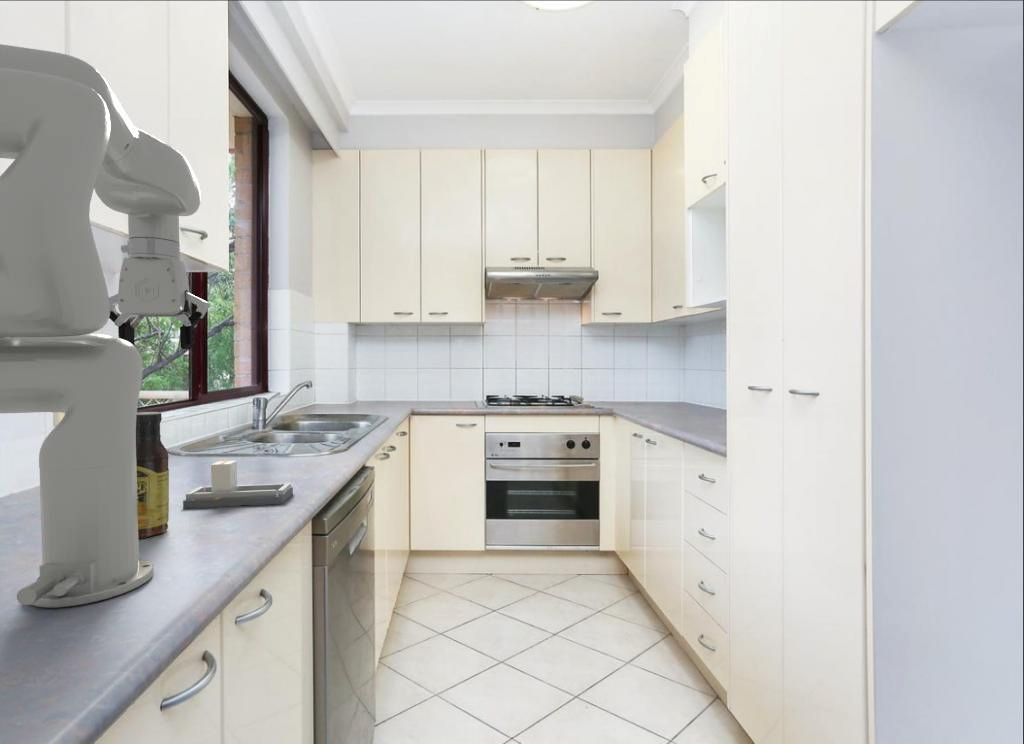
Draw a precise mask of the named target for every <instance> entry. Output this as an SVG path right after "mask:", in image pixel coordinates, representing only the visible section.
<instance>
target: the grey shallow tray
mask: <svg viewBox="0 0 1024 744" xmlns="http://www.w3.org/2000/svg"><path fill="white" fill-rule="evenodd" d="M292 495H294V487H293V486H292V483H291V482H289V483H288V482H287V483H285V484H284V483H266V484H265V483H264V484H262V483H261V484H239V485H238V484H237V491H230V492H212V486H209V485H208V486H198V487H196V488H194V489H193V490H191V491H189V492H187V493H185V499H184V500H183V501H182V508H184V509H201V508H205V507H206V508H221V507H222V508H224V506H229V507H242V506H241V505H252V506H265V505H264V504H274V505H283V504H284V503H285V502H286V501H287V500H289V498H290V497H291V496H292ZM284 501H285V502H284ZM283 502H284V503H283ZM282 503H283V504H282Z"/></svg>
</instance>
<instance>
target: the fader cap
mask: <svg viewBox="0 0 1024 744" xmlns="http://www.w3.org/2000/svg"><path fill="white" fill-rule="evenodd" d="M237 465H238V464H237V460H218V461H216V462H214V463H212V464H210V474H211V475H210V477H211V481H210V482H211V483H210V484H211V486H212V492H230V491H237V485H238V470H237V468H238V466H237Z"/></svg>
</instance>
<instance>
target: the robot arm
mask: <svg viewBox="0 0 1024 744" xmlns="http://www.w3.org/2000/svg"><path fill="white" fill-rule="evenodd" d="M0 159H8V160H9V159H10V160H13V162H11V164H10V165H9V166H8V167H7V168H6V169H5V171H3V172H2V173H1V175H0V414H28V413H31V414H32V413H62V414H64V415H63V417H62V419H61V420H60V421H59V422H58V424H57V425H55V427H54V428H53V429H52V430H51V431H50V432H49V434H48V435H47V436H46V437H45V439H44V440H43V442H42V443H41V446H40V448H39V449H40V450H39V454H38V468H39V493H40V494H39V495H40V521H41V522H40V524H41V525H40V527H41V554H42V555H41V556H42V565H39V576H38V577H37V578H36V580H35V581H33V582H32V583H30V584H27V585H26V586H25V587H23V588H21V589H20V590H18V591H17V594H16V600H17V602H18V603H19V604H21V605H23V606H25V605H26V606H29V605H30V606H34V607H38V608H47V609H49V608H53V609H54V608H65V607H66V608H67V607H73V606H81V605H86V604H87V605H88V604H91V603H96V602H99V601H103V600H107V599H111V598H113V597H116V596H119V595H122V594H125V593H128V592H130V591H132V590H135V589H137V588H139V587H141V586H142V585H144V584H145V583H147V582H148V581H149V580H151V578H152V577H153V576H154V564H153V563H152V562H151V561H149V560H147V559H143V558H140V552H139V551H140V548H139V546H140V545H139V538H138V505H137V469H136V415H137V413H138V405H139V397H140V391H141V386H142V385H141V384H142V380H143V370H144V367H143V359H142V355H141V353H140V351H139V349H138V348H137V347H136V346H135V328H134V327H133V326H132V324H133V323H134V322H135V321H136V320H137V319H138V318H139V317H141V318H142V317H144V318H145V317H146V318H148V317H149V318H150V317H151V318H152V317H154V318H155V317H156V318H157V317H158V318H159V317H161V318H174V317H175V318H177V319H178V320H179V322H180V323H182V325H181V326H180V327H179V341H180V343H179V344H180V346H179V347H180V349H181V350H193V346H194V345H195V328H196V327H197V325H198V324H199V323H200V322H201V321H202V320H203V319H204V318H205V315H206V314H207V312H208V310H209V308H210V306H211V304H210V302H209V301H206V300H204V299H202V298H200V297H198V296H195V295H194V294H192V293H190V292H191V291H190V285H189V279H188V275H187V274H188V273H187V270H186V266H185V263H184V261H182V260H181V256H180V254H181V252H180V251H181V249H180V248H181V247H180V217H190V216H192V215H194V214H196V213H197V211H198V209H199V208H200V205H201V200H202V199H201V195H202V194H201V189H200V185H199V182H198V179H197V177H196V175H195V173H194V171H193V169H192V167H191V165H190V163H189V161H188V160H187V158H186V157H185V155H183V154H182V153H181V152H180V151H178V150H177V149H176V148H174V147H173V146H171V145H169V144H167V142H164V141H162V140H160V139H158V138H157V137H155V136H153V135H151V134H149V133H148V132H145V131H144V130H142V129H139V128H137V127H135V126H134V125H133V123H132V121H131V120H130V118H129V117H128V114H126V112H125V110H124V109H123V107H122V105H121V103H120V102H119V100H118V98H117V97H116V95H115V93H114V92H113V91H112V89H111V87H110V85H109V84H108V81H106V79H105V78H104V77H103V75H102V74H101V73H100V72H99V71H98V70H97V69H96V68H95V67H94V66H92V65H91V64H89V63H88V62H87V61H84V60H82V59H80V58H78V57H75V56H72V55H69V54H66V53H65V54H64V53H61V52H56V51H49V50H44V49H43V50H42V49H37V48H31V47H30V48H28V47H23V46H22V47H21V46H14V45H8V44H1V43H0ZM94 192H95V194H96V195H97V197H98V198H99V199H100V201H101V202H102V203H103V205H105V206H106V207H108V208H109V209H110V210H112V211H114V212H118V213H121V214H125V215H127V221H128V222H127V225H128V229H127V232H128V240H127V244H125V245H123V244H122V245H121V246H120V251H121V252H122V254H127V256H128V257H123V259H122V264H121V268H120V274H119V279H118V291H117V293H116V294H114V295H112V296H110V297H109V291H108V288H107V283H106V280H105V276H104V271H103V268H102V264H101V263H102V262H101V261H100V256H99V252H98V248H97V245H96V241H95V238H94V234H93V231H92V230H93V228H92V225H91V220H90V211H91V209H90V206H91V201H92V197H93V193H94ZM191 303H192V304H194V305H195V306H196V307H197V308H196V309H195V312H193V313H192V314H190V312H191ZM116 306H117V307H118V311H119V312H120V313H119V312H118V311H117V309H116ZM109 319H110V320H111V322H113V323H114V325H115V326H117V329H118V331H117V333H118V336H113V335H108V334H107V335H106V334H100V333H98V334H97V333H95V332H98V331H100V330H102V329H103V328H104V326H107V324H108V321H109Z"/></svg>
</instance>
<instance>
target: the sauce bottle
mask: <svg viewBox="0 0 1024 744" xmlns="http://www.w3.org/2000/svg"><path fill="white" fill-rule="evenodd" d="M162 420H163V419H162V412H159V411H140V412H139V411H138V412H137V415H136V469H137V505H138V539H145V538H149V537H154V536H157V535H160V534H163V533H165V532H166V531H167V530H168V527H169V524H168V522H169V517H170V516H169V514H170V513H169V511H170V509H169V505H170V503H169V502H170V501H169V498H170V495H169V493H170V492H169V491H170V481H169V480H170V469H169V452H168V449H167V448H166V447H165V446H164V444H163V443H162V439H161V436H162V435H161V422H162Z"/></svg>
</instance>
